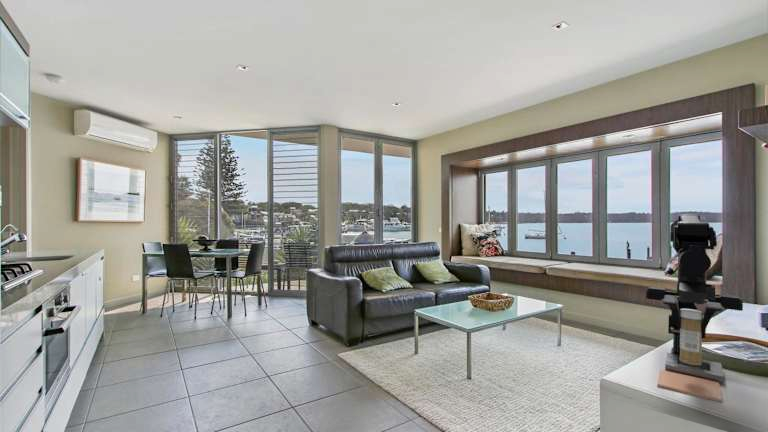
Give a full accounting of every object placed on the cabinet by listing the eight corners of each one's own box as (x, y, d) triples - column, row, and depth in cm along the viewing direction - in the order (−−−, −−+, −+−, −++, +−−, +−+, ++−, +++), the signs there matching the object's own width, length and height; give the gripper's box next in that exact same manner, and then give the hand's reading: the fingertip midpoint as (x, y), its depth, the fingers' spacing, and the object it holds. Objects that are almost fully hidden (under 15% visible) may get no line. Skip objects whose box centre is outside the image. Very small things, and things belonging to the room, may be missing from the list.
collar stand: (667, 359, 112) (667, 352, 112) (720, 370, 104) (721, 363, 104) (665, 371, 102) (665, 364, 102) (723, 384, 95) (724, 376, 95)
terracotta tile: (660, 371, 102) (660, 369, 102) (718, 384, 95) (718, 382, 95) (657, 386, 93) (657, 383, 93) (722, 402, 85) (722, 399, 85)
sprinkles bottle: (704, 363, 95) (705, 310, 95) (697, 367, 92) (699, 312, 92) (682, 357, 99) (683, 307, 99) (675, 361, 96) (676, 308, 96)
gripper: (645, 269, 95) (643, 330, 95) (746, 278, 84) (744, 347, 83) (648, 265, 104) (647, 321, 104) (740, 273, 92) (739, 336, 92)
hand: (690, 331), depth 95 cm, fingers closed on sprinkles bottle, 4 cm apart
